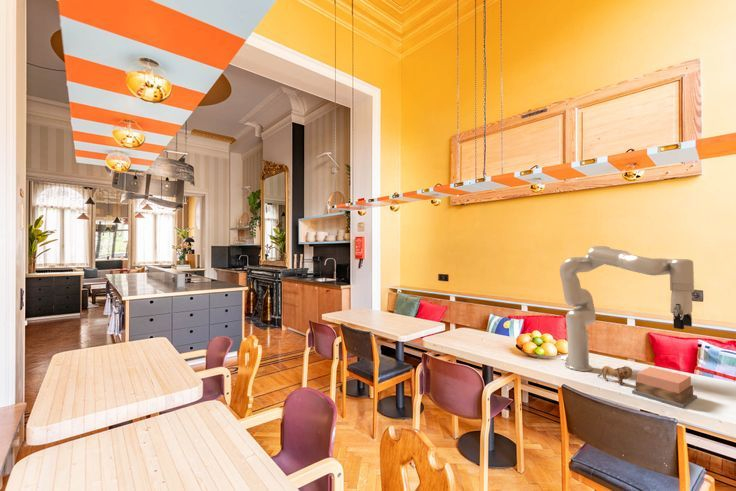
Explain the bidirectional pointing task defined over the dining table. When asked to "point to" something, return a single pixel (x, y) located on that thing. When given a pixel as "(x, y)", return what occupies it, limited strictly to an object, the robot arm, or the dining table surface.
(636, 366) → the dining table surface
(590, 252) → the robot arm
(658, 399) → the baseplate
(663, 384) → the top brick
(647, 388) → the brown flat block
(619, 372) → the lion figurine
